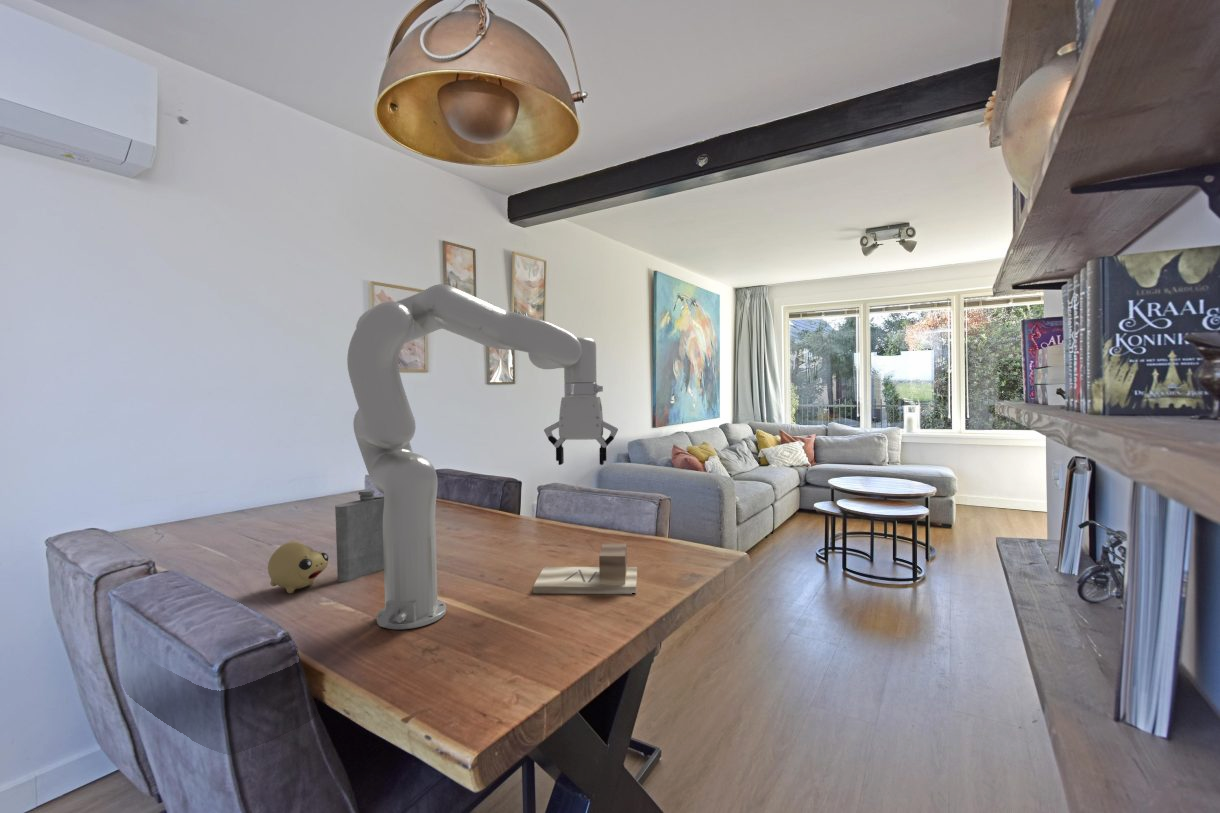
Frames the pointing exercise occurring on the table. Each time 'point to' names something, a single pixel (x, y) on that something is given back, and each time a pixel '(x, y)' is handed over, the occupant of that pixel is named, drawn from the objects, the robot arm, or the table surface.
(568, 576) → the birch board
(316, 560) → the yellow round soft figure
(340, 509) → the hip flask
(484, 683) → the table surface
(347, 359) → the robot arm
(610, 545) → the block
